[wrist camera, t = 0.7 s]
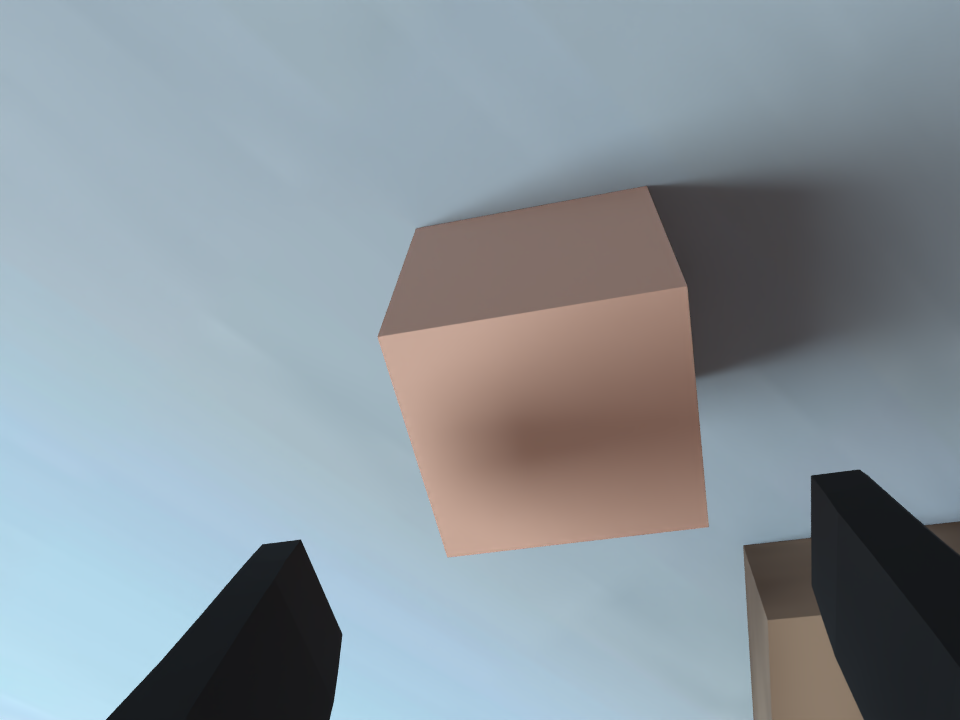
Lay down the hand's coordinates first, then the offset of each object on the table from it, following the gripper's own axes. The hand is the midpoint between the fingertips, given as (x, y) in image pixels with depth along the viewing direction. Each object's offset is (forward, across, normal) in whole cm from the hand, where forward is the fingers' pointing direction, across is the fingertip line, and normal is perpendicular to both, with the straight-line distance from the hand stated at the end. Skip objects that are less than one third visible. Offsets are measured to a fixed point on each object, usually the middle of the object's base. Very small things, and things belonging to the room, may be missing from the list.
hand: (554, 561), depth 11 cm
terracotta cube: (+8, 0, 0) cm, 8 cm away
